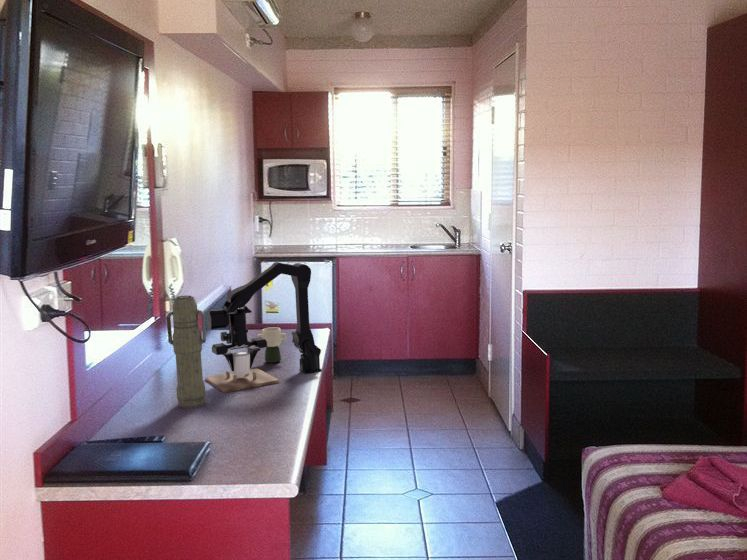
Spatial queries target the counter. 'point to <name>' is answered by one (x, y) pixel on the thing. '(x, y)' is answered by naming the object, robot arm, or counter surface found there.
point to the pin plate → (241, 380)
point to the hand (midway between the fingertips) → (241, 369)
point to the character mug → (272, 343)
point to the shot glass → (241, 363)
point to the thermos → (187, 351)
